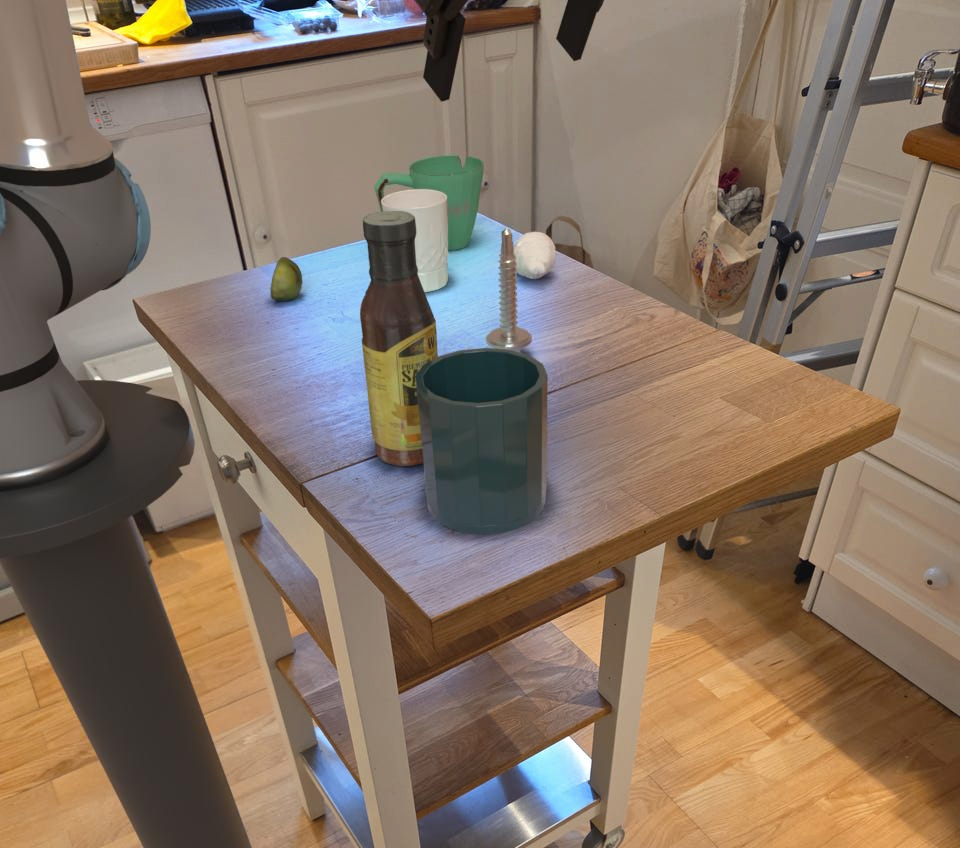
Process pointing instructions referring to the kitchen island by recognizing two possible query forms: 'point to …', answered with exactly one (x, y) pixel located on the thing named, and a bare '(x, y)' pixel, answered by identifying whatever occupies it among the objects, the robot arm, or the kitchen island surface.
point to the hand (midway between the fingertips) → (504, 68)
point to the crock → (483, 438)
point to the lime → (286, 280)
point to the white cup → (426, 232)
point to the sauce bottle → (395, 336)
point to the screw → (508, 303)
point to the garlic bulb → (534, 255)
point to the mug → (445, 190)
